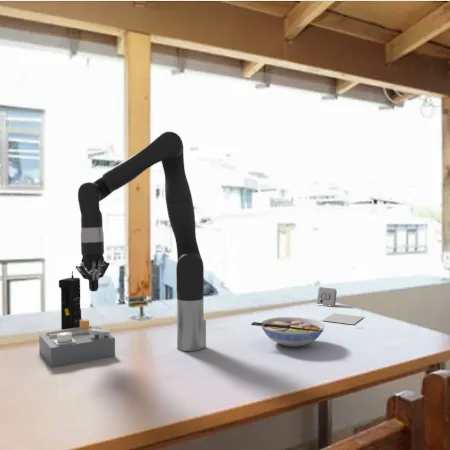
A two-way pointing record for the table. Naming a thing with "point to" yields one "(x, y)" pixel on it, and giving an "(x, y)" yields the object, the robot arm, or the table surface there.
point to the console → (75, 347)
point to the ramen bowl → (291, 330)
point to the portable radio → (70, 303)
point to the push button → (64, 337)
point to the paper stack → (343, 318)
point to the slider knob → (84, 324)
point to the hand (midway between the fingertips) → (93, 290)
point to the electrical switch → (326, 296)
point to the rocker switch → (98, 331)
